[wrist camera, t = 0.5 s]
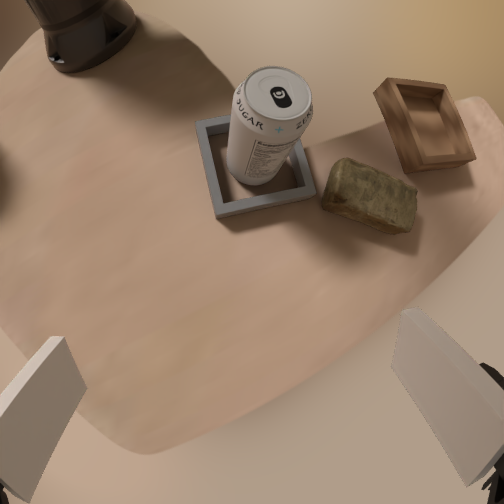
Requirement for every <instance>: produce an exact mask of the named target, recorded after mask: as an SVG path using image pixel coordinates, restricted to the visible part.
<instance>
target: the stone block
mask: <svg viewBox="0 0 504 504" xmlns="http://www.w3.org/2000/svg"><path fill="white" fill-rule="evenodd" d="M417 192H418V191H417V189H416V188H414V187H411V186H409V185H407V184H405V183H404V182H403V181H401V180H399V179H397V178H394V177H392V176H390V175H388V174H386V173H384V172H382V171H380V170H377V169H375V168H373V167H370V166H368V165H365V164H362V163H359V162H357V161H355V160H353V159H350V158H343V159H341V160H338V161H337V162H336V163H335V164H334V166H333V167H332V169H331V172H330V174H329V178H328V181H327V184H326V188H325V191H324V195H323V199H322V207H323V209H324V210H327V211H329V212H332V213H335V214H338V215H341V216H344V217H347V218H349V219H352V220H355V221H359V222H362V223H364V224H366V225H369V226H371V227H374V228H375V229H377V230H380V231H382V232H385V233H389V234H393V235H395V234H398V233H406V232H410V230H411V228H412V225H413V222H414V218H415V213H416V211H417V198H416V195H417Z"/></svg>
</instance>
